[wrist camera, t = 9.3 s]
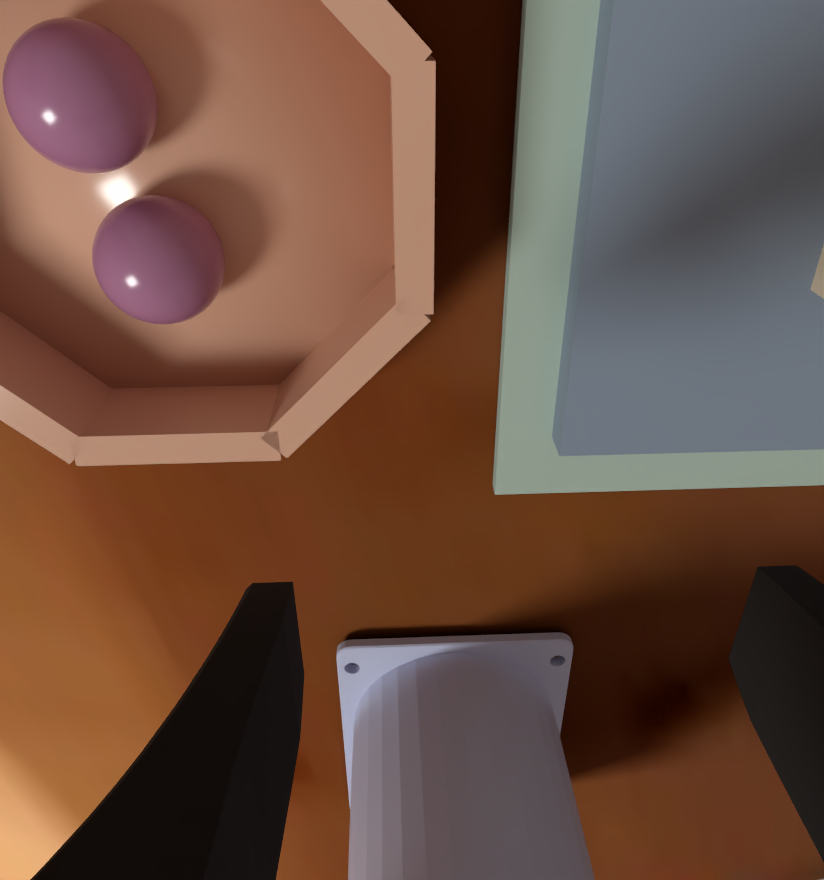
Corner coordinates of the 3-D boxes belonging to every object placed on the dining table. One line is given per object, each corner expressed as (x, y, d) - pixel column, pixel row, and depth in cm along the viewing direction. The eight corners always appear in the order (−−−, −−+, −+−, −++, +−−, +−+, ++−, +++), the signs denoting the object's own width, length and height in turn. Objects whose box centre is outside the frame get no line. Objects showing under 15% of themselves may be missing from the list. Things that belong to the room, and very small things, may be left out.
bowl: (425, 396, 20) (432, 455, 17) (-20, 408, 20) (-79, 470, 17) (426, -167, 14) (437, -205, 11) (-228, -166, 13) (-373, -204, 11)
